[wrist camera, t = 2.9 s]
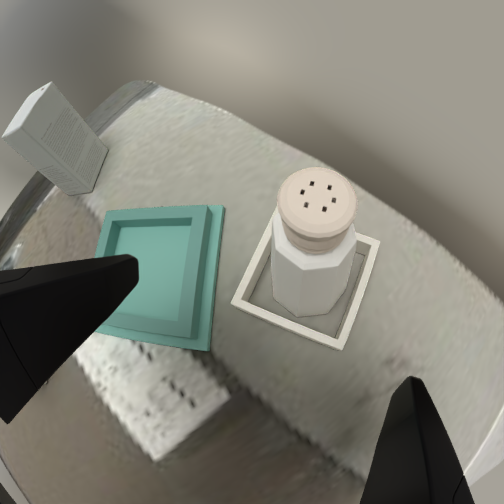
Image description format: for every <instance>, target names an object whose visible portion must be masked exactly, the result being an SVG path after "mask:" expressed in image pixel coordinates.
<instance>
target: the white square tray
mask: <svg viewBox="0 0 504 504" xmlns="http://www.w3.org/2000/svg"><path fill="white" fill-rule="evenodd" d="M278 212H279V211H278V206H277V207H276V209H275V211H274V213H273V215H272V217H271V220H270V222H269V224H268V226H267V228H266V230H265V232H264V234H263V236H262V238H261V241H260V243H259V245H258V247H257V249H256V251H255V253H254V255H253V257H252V259H251V261H250V263H249V266H248V268H247V270H246V272H245V274H244V276H243V278H242V280H241V282H240V284H239V286H238V289H237V291H236V293H235V295H234V297H233V299H232V301H231V304H232V305H233V306H234V307H236V308H237V309H239V310H242V311H244V312H246V313H248V314H251V315H253V316H255V317H257V318H260V319H262V320H264V321H266V322H269V323H271V324H273V325H276V326H278V327H280V328H283V329H285V330H288V331H290V332H292V333H295V334H297V335H300V336H302V337H305V338H307V339H309V340H312V341H314V342H317V343H319V344H322V345H325V346H327V347H330V348H332V349H335V350H337V351H338V350H343V347H344V345H345V342H346V340H347V337H348V335H349V332H350V330H351V327H352V325H353V322H354V320H355V317H356V314H357V312H358V309H359V306H360V303H361V300H362V298H363V295H364V292H365V289H366V286H367V283H368V280H369V277H370V274H371V271H372V267H373V264H374V261H375V258H376V254H377V251H378V247H379V244H380V241H378V240H375V239H373V238H370V237H368V236H365V235H362V234H360V233H357V232H355V233H356V238H357V245H356V251H355V252H357V253H360V254H362V255H365V257H364V261H363V264H362V267H361V270H360V273H359V276H358V279H357V282H356V284H355V287H354V290H353V293H352V296H351V298H350V301H349V304H348V306H347V309H346V312H345V314H344V317H343V319H342V322H341V324H340V327H339V329H338V332H337V334H336V337H335V338H332V337H330V336H327V335H325V334H322V333H320V332H317V331H314V330H312V329H310V328H307V327H305V326H302V325H300V324H297V323H295V322H292V321H290V320H288V319H285V318H283V317H280V316H278V315H276V314H273V313H271V312H269V311H266V310H264V309H262V308H259V307H257V306H255V305H252V304H250V303H248V300H249V298H250V296H251V294H252V292H253V290H254V288H255V285H256V283H257V281H258V279H259V277H260V275H261V273H262V270H263V268H264V266H265V264H266V262H267V260H268V257H269V255H270V253H271V243H272V221H273V218H274V217H275V216H276V215H277V213H278Z"/></svg>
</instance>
